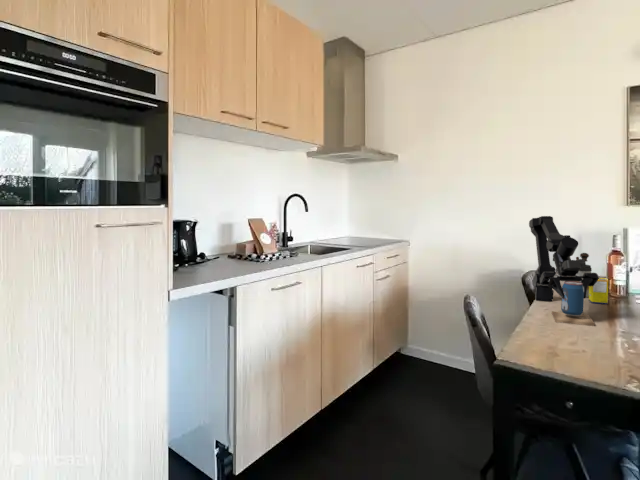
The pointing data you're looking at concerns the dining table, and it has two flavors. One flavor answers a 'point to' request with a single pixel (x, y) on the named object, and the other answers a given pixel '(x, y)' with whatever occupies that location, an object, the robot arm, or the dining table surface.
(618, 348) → the dining table surface
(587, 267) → the coffee cup
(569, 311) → the soda can
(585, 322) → the tan flat square slab
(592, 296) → the supplement box
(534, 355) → the dining table surface
